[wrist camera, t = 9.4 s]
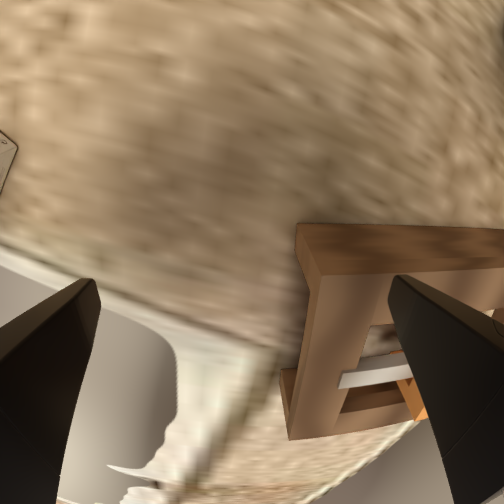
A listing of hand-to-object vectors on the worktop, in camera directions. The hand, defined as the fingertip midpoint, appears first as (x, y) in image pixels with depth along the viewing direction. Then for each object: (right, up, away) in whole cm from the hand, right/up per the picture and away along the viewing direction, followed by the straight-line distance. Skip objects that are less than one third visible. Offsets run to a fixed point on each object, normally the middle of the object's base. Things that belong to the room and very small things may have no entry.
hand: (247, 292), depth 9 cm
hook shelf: (+13, -4, +17) cm, 21 cm away
